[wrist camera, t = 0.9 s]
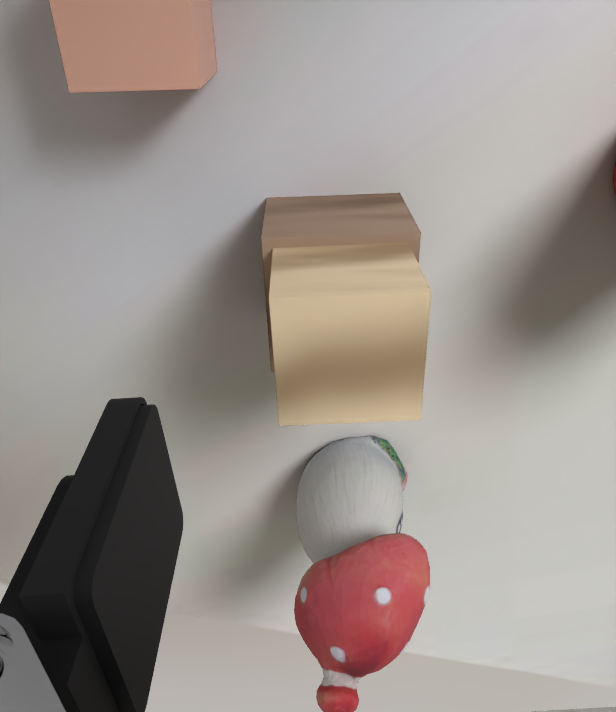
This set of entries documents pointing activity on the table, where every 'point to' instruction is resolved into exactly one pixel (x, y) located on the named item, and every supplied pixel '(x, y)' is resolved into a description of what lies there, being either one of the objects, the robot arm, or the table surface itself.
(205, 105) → the table surface
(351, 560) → the decorative ornament
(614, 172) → the canned food
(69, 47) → the terracotta block
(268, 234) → the walnut base
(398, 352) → the oak block
